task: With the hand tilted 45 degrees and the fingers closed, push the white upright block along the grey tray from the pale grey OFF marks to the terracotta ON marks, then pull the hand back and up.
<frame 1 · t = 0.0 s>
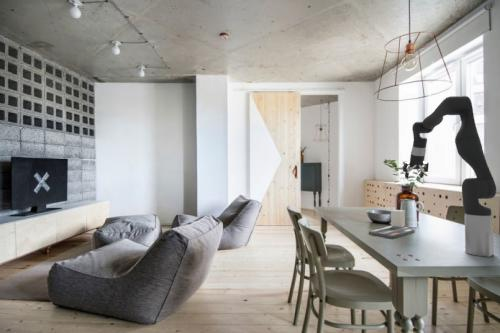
hand: (413, 177, 182), 31 cm above the table, fingers open, 8 cm apart
grey tray: (391, 233, 165), on the table
white upright block: (397, 219, 169), point 7 cm above the table, slide at 0.0 cm
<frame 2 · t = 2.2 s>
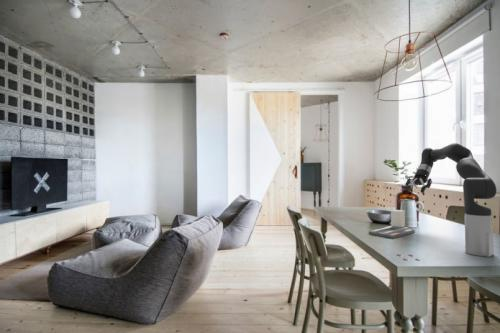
hand: (414, 191, 178), 23 cm above the table, fingers open, 7 cm apart
nothing on the table moved.
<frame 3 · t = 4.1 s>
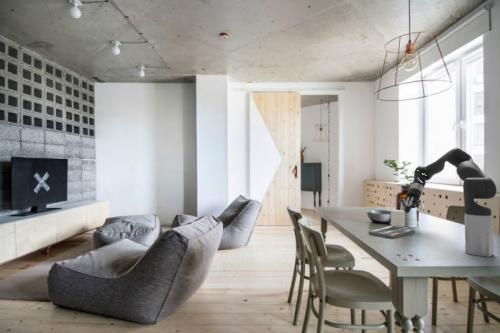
hand: (406, 212, 177), 10 cm above the table, fingers closed
nothing on the table moved.
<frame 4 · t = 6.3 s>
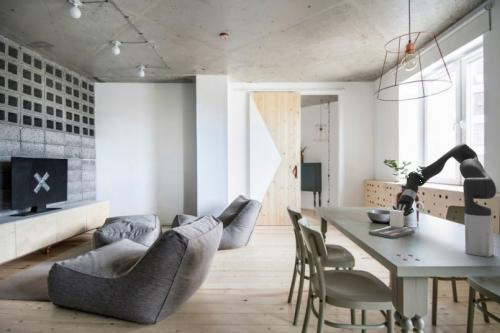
hand: (398, 220, 170), 6 cm above the table, fingers closed
white upright block: (396, 219, 168), point 7 cm above the table, slide at 1.4 cm, touching gripper
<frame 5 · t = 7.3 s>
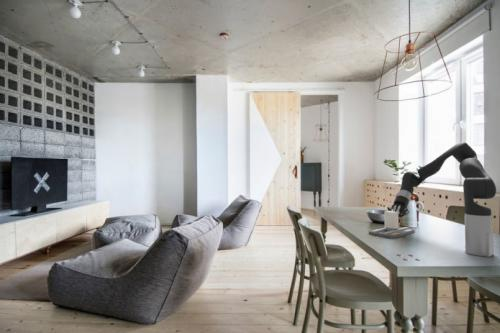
hand: (392, 221, 167), 6 cm above the table, fingers closed
white upright block: (391, 221, 165), point 7 cm above the table, slide at 7.3 cm, touching gripper
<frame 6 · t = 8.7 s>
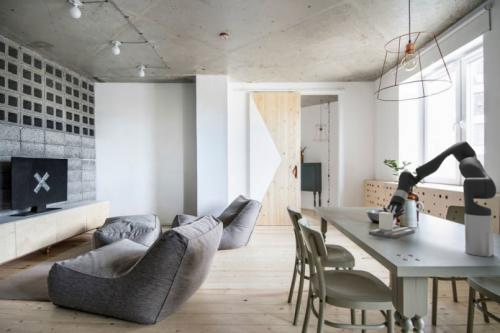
hand: (388, 222, 163), 7 cm above the table, fingers closed
white upright block: (386, 222, 162), point 7 cm above the table, slide at 12.9 cm, touching gripper
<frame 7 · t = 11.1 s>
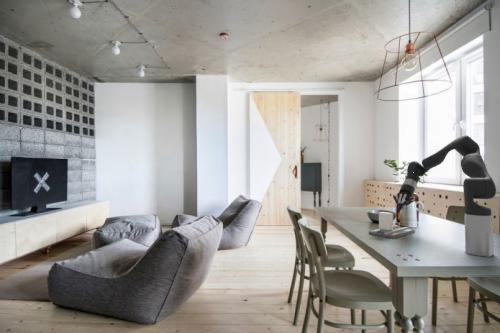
hand: (398, 209, 169), 13 cm above the table, fingers closed
white upright block: (386, 222, 161), point 7 cm above the table, slide at 13.1 cm
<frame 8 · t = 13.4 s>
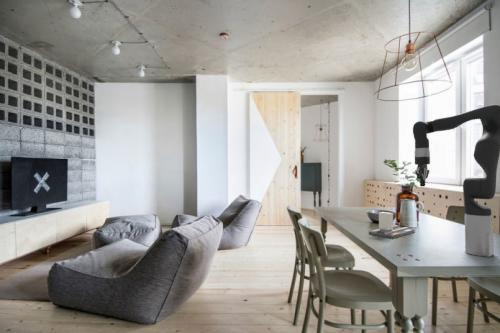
hand: (422, 186, 164), 27 cm above the table, fingers closed
nothing on the table moved.
at the end: white upright block slide at 13.1 cm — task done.
